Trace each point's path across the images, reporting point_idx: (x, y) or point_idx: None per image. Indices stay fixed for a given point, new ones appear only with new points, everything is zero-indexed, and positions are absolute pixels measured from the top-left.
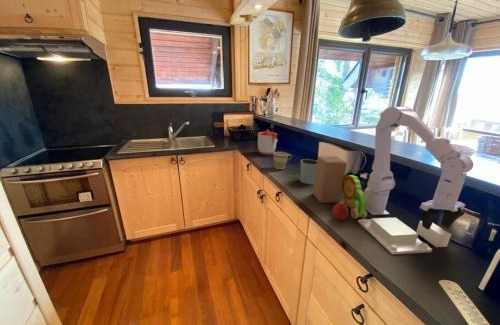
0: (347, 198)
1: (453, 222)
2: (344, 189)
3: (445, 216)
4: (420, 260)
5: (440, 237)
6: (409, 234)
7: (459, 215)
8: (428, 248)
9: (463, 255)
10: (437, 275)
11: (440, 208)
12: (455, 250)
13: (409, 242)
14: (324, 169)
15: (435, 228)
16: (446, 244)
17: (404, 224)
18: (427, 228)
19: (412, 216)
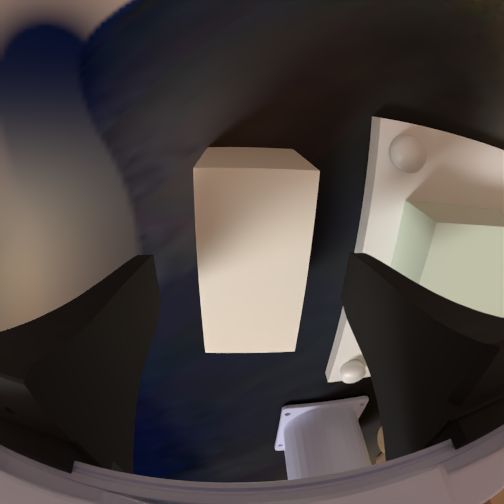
0: None
1: (95, 285)
2: None
3: (132, 367)
4: (471, 90)
5: (304, 163)
6: (481, 226)
7: (28, 342)
8: (396, 130)
9: (178, 62)
10: (469, 12)
11: (494, 462)
12: (183, 108)
13: (443, 199)
14: (489, 502)
15: (262, 263)
16: (214, 149)
17: None
18: (369, 257)
19: (170, 391)
